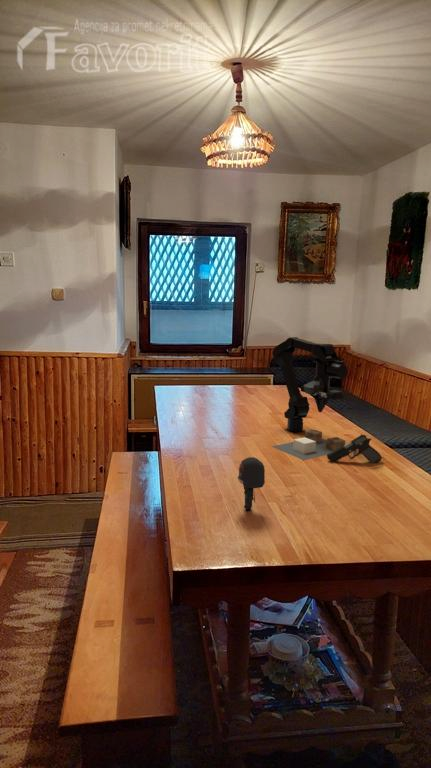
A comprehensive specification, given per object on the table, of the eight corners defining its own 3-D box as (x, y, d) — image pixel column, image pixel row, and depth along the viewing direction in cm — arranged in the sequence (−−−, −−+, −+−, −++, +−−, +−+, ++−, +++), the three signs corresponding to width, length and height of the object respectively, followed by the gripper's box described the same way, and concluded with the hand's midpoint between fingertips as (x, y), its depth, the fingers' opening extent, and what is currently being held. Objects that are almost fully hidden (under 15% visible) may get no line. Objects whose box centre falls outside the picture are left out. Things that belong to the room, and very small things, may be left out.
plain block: (292, 449, 193) (293, 439, 192) (304, 447, 196) (304, 437, 196) (303, 453, 188) (304, 443, 187) (315, 451, 191) (315, 441, 191)
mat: (271, 447, 196) (271, 446, 196) (317, 437, 210) (317, 437, 210) (303, 461, 181) (303, 460, 181) (351, 449, 196) (351, 448, 196)
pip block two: (326, 448, 196) (326, 437, 195) (335, 446, 198) (336, 436, 197) (334, 451, 192) (335, 441, 191) (344, 450, 194) (345, 440, 193)
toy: (234, 502, 145) (236, 452, 142) (260, 501, 146) (263, 453, 143) (238, 516, 136) (240, 464, 133) (266, 516, 137) (269, 464, 134)
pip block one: (304, 440, 205) (305, 430, 204) (311, 438, 208) (312, 428, 207) (314, 443, 201) (315, 433, 200) (321, 441, 205) (322, 431, 204)
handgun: (381, 457, 182) (366, 430, 180) (383, 459, 180) (367, 432, 178) (341, 480, 184) (325, 454, 182) (342, 482, 182) (326, 456, 180)
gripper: (292, 372, 205) (290, 409, 208) (326, 380, 190) (323, 419, 193) (311, 370, 212) (309, 406, 215) (345, 377, 197) (342, 416, 200)
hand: (320, 411), depth 205 cm, fingers closed
